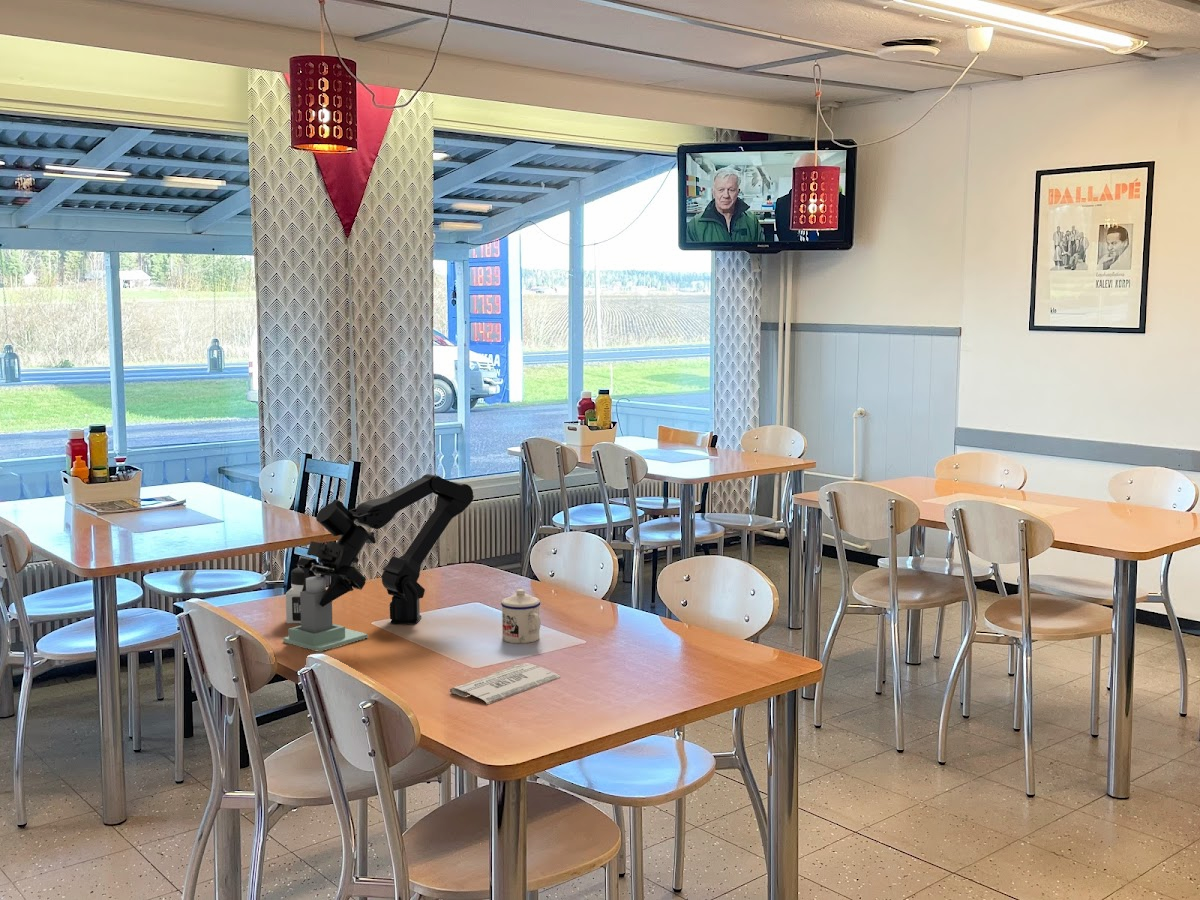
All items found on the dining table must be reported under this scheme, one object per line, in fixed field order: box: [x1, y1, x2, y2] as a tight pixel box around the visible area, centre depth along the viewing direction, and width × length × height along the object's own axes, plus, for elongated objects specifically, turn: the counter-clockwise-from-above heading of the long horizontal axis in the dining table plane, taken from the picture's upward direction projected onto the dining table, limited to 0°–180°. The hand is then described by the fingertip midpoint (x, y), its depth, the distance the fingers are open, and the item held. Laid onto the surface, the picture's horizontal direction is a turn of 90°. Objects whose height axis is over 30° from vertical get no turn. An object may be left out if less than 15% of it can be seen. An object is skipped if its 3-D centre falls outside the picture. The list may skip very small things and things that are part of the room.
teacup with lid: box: [500, 588, 542, 644], centre depth 269 cm, size 12×9×12 cm
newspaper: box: [449, 662, 561, 705], centre depth 238 cm, size 23×12×2 cm, turn 141°
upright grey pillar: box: [300, 576, 334, 634], centre depth 266 cm, size 5×5×14 cm
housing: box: [282, 623, 369, 653], centre depth 269 cm, size 14×13×4 cm
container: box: [285, 566, 305, 624], centre depth 286 cm, size 8×8×13 cm
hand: (311, 603), depth 265 cm, fingers open, 7 cm apart
